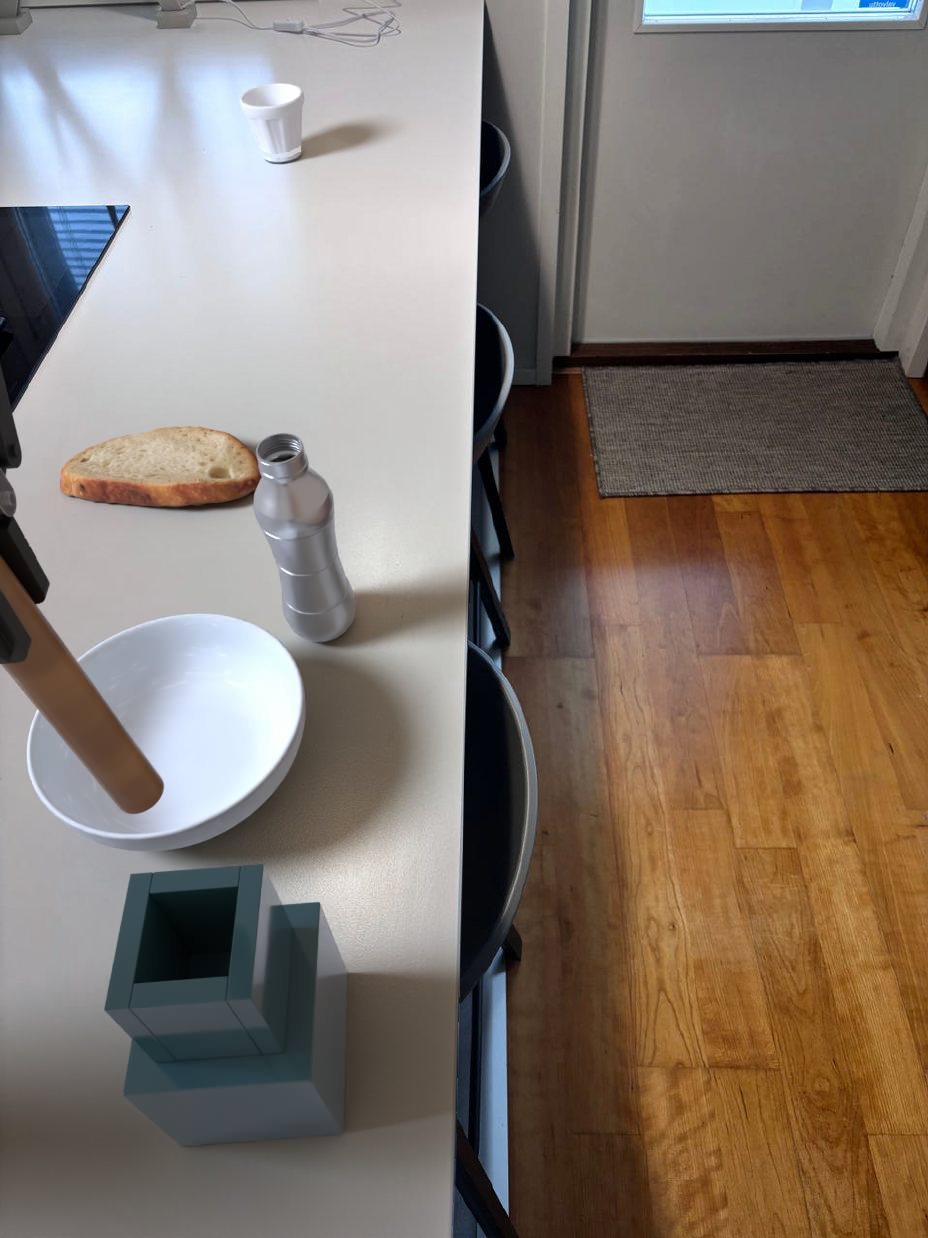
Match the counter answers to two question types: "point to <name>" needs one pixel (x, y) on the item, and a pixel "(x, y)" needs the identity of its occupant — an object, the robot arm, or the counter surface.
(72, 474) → the bread slice
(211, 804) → the serving bowl
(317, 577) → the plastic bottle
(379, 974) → the counter surface
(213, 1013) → the utensil holder
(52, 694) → the stick
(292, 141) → the cup
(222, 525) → the counter surface
